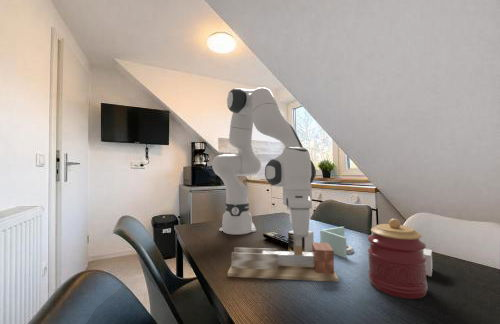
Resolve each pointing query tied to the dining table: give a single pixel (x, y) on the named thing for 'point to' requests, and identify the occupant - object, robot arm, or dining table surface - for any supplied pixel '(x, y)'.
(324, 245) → the stand
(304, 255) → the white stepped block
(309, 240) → the medicine bottle
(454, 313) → the dining table surface
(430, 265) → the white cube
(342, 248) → the right angle wall
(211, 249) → the dining table surface
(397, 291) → the canister
